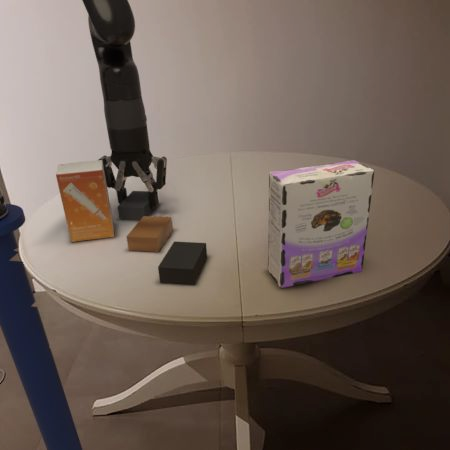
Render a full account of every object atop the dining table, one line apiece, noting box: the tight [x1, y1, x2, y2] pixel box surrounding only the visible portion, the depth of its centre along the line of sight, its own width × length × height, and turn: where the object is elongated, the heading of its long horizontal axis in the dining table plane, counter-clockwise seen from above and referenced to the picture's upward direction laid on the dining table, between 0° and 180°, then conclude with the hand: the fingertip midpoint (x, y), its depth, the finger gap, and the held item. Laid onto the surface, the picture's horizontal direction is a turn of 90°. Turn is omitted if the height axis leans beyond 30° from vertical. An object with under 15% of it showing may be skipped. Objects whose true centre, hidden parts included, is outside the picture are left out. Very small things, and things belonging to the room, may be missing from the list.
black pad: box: [157, 241, 208, 286], centre depth 76 cm, size 9×6×3 cm, turn 169°
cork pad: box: [126, 215, 174, 253], centre depth 86 cm, size 9×6×3 cm, turn 169°
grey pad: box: [116, 190, 160, 221], centre depth 98 cm, size 9×6×3 cm, turn 169°
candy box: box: [267, 159, 375, 289], centre depth 70 cm, size 14×6×16 cm, turn 106°
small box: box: [55, 159, 115, 243], centre depth 86 cm, size 8×6×13 cm
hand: (139, 206), depth 98 cm, fingers closed on grey pad, 5 cm apart
